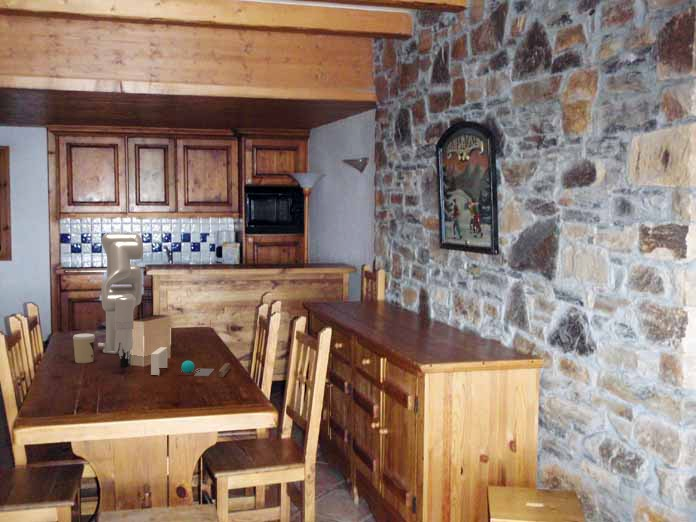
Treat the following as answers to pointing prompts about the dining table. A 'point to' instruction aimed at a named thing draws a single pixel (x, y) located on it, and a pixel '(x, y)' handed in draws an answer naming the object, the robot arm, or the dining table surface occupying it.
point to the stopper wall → (224, 370)
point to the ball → (187, 366)
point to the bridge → (158, 360)
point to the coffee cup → (84, 348)
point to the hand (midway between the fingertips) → (124, 367)
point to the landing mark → (203, 372)
